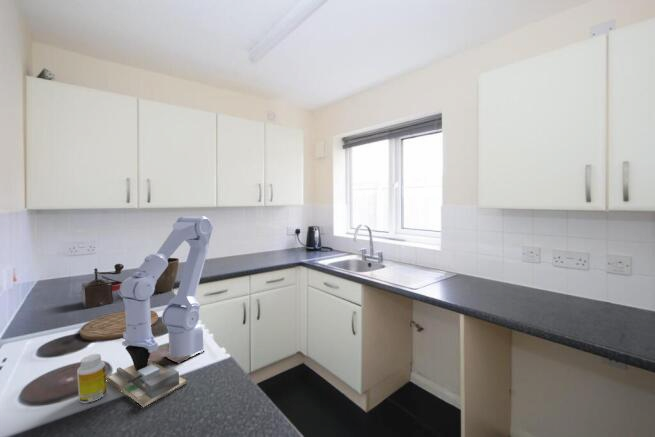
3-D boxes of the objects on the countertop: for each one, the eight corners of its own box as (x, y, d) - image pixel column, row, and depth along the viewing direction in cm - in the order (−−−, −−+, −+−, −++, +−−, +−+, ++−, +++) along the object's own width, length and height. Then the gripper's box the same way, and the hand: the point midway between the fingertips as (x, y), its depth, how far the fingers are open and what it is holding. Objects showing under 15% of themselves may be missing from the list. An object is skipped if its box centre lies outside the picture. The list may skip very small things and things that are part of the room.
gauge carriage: (152, 374, 85) (151, 364, 84) (159, 379, 82) (159, 368, 82) (124, 387, 79) (124, 376, 79) (132, 393, 77) (131, 381, 76)
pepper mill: (86, 309, 137) (83, 269, 135) (82, 303, 144) (79, 265, 143) (126, 300, 148) (124, 263, 146) (121, 295, 155) (119, 260, 154)
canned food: (103, 297, 167) (102, 279, 170) (125, 292, 171) (124, 275, 174) (97, 293, 157) (96, 274, 161) (120, 288, 162) (118, 270, 165)
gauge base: (148, 362, 93) (147, 348, 93) (186, 384, 82) (185, 368, 82) (106, 380, 84) (105, 365, 84) (143, 408, 73) (142, 390, 73)
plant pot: (145, 290, 164) (143, 260, 162) (175, 284, 174) (173, 256, 172) (152, 297, 153) (150, 265, 151) (183, 290, 163) (182, 260, 161)
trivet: (172, 317, 128) (172, 312, 128) (116, 345, 104) (116, 340, 104) (125, 311, 135) (124, 307, 135) (62, 336, 111) (62, 331, 111)
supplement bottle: (109, 396, 77) (107, 357, 77) (81, 408, 73) (78, 366, 73) (104, 387, 81) (101, 349, 80) (77, 397, 77) (74, 358, 76)
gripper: (109, 320, 84) (112, 368, 85) (136, 333, 76) (139, 386, 77) (137, 312, 89) (139, 357, 90) (164, 323, 81) (167, 372, 83)
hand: (141, 369), depth 84 cm, fingers closed
